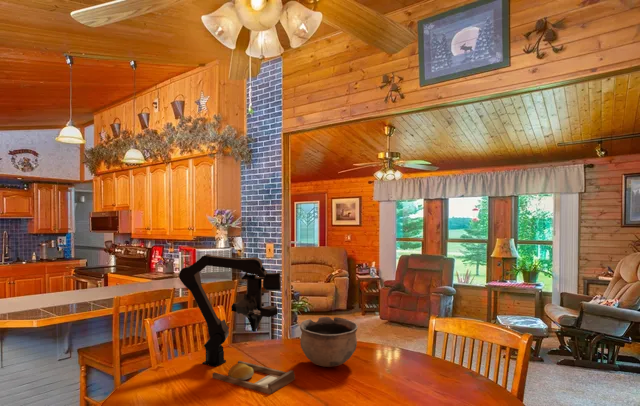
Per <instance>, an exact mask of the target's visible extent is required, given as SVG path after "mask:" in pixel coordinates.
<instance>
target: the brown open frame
mask: <svg viewBox="0 0 640 406" xmlns="http://www.w3.org/2000/svg"><path fill="white" fill-rule="evenodd" d="M239 363H243V364H246V365H247V366H249V367H252V368H253V371H254V372H259V373H263V374H266V376H264V377H262V378H261V379H259V380H258V381H256V382H254V383H253V382H251V381H246V380H240V379H236V378H233V377H230V376H229V375H225V374H221V373H218V372H213V373H212V374H211V375H212V379H214V380H220V381H222V382H225V383H229V384H233V385H237V386H239V387H243V388H246V389H250V390H254V391H256V392H261V393H264V394H267V395H271V394H273V393H275V392H276V391H279V390H280V389H282V388H283V387H285V386H287V385H289V384H290V383H293V381H295V380H296V375H295V370H292V369H290V370H289V371H287V372H286V371H283V370H278V369H275V368H271V367H266V366H262V365H259V364H254V363H252V362H247V361H243V360H238V361H237V364H239Z"/></svg>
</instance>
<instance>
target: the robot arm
mask: <svg viewBox="0 0 640 406" xmlns="http://www.w3.org/2000/svg"><path fill="white" fill-rule="evenodd" d="M209 266H210V267H215V268H216V267H218V268H225V269H233V270H239V271H241V272H243V273H244V275H243V276H242V277H241V280H246V293H245V294H244V295H243V299H241V300H240V301H237V302H234V303H232V305H231V306H230V307H231V309H230V310H231V312H235V313H237V314H238V315H239V314H241V315H243V316H245V317H246V318H247V320H248V322H249V325H250V327H251V328H250V329H251V330H252V332H253V333H255V332H256V331H257V329H258V327H259V325H260V322H261V321H262V319H263V317H264V318H270V317H273V316H276V315H278V313H279V309H278V308H277V306H274V305H267V306H265V304H264V303H263V301H262V300H263V297H262V296H264V295H265V292H263V290H265V291H267V292H273V291H274V292H276V291H277V292H279V291H281V290H282V279H281V272H272V273H271V272H269V273H268V271H267V270H266V269H265V267H264V266H263V261H262V259H260V258H259V257H258V256H257V257H243V258H238V257H237V258H236V257H228V256H221V255H220V256H218V255H212V254H204V255H202V256H201V257H200V258H199V259H197V261H195V262H194V263H192V264H191V265H187V266H185V267H183V268H182V269H181V270H180V271H179V274H178V278H179V280H180V282H181V283H182V284H183V286H185V287H186V289H188V290H189V291H190V293H191V295H192V297H193V298H194V301H195V303H196V304H197V306H198V309H199V311H200V313H201V315H202V317H203V318H204V320H205V322H206V325H207V332H208V339H207V341H206V342H205V343H204V344H203V347H204V349H205V361H202V364H203V365H206V366H210V367H217V366H219V365H222V364H224V363H226V362H227V360H226V359H225V351H224V346H223V344H224V343H225V341H226V340H227V339H228V337H229V335H230V332H229V330H230V327H229V326H228V325H227V323H226V320H225V319H222V320H221V319H220V318H219V317H218V316H217V313H216V312H215V310H214V307H213V305H212V303H211V301H210V300H209V298H208V296H207V293H206V291H205V289H204V288H203V286H202V280H201V279H202V278H201V274H200V272H201V271H203V270H204V269H205V268H207V267H209ZM262 288H263V290H262ZM264 306H265V307H264Z"/></svg>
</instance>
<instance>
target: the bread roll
mask: <svg viewBox="0 0 640 406" xmlns="http://www.w3.org/2000/svg"><path fill="white" fill-rule="evenodd" d="M227 373H228V376H229V377H233V378H236V379H240V380H244V381H246V380H249V379H251V378H252V377H253V376H254V373H255V371H254V370H253V368H252V367H249V366H247V365H246V364H243V363H239V364H238V363H236V364H234V365H232V366H231V367H230V368H229V370H228V372H227Z"/></svg>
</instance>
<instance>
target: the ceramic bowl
mask: <svg viewBox="0 0 640 406" xmlns="http://www.w3.org/2000/svg"><path fill="white" fill-rule="evenodd" d="M317 319H318V320H317V321H314V320H312V319H311V318H309V319H305V320H303V321H302V322H301V323H300V324H299V328H300V331H301V334H300V348H301V350H302V351H303V353H304V355H305V356H306V358H307V359H308V360H309V361H310V362H312V363H313V364H314V365H316V366H321V367H327V368H329V367H337V366H341V365H343V364H345V363H346V362H347V361H348V360H350V359H351V357H352V356H353V354H355V351H356V350H357V345H358V339H357V334H356V333H357V331H358V328H359V326H358V324H357V323H356V322H354V321H352V320H349V319H347V318H343V317H342V318H341V317H337V316H335V317H333V319H332V318H331V317H329V316H322V317H321V316H319V317H318V318H317Z"/></svg>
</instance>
